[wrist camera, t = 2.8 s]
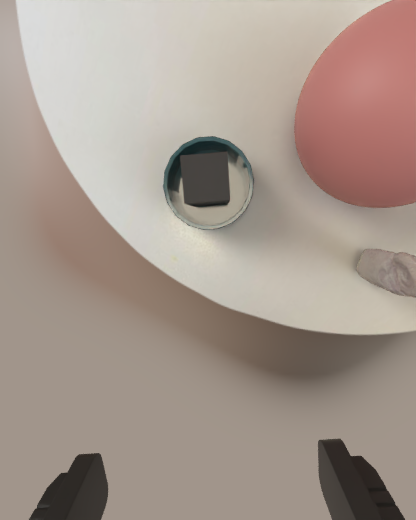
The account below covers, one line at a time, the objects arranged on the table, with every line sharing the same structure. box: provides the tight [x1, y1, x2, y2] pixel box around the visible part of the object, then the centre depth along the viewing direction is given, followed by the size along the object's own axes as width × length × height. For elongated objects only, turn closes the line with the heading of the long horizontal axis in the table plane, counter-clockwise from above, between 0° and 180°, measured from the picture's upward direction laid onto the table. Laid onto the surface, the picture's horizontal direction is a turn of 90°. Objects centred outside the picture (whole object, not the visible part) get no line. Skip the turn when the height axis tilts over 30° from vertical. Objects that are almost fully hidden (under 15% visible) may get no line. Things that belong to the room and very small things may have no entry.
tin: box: [163, 136, 254, 230], centre depth 31 cm, size 9×9×4 cm
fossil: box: [357, 249, 416, 297], centre depth 29 cm, size 6×4×10 cm, turn 46°
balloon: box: [294, 0, 416, 208], centre depth 23 cm, size 15×20×15 cm
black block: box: [180, 151, 230, 207], centre depth 28 cm, size 4×4×9 cm
